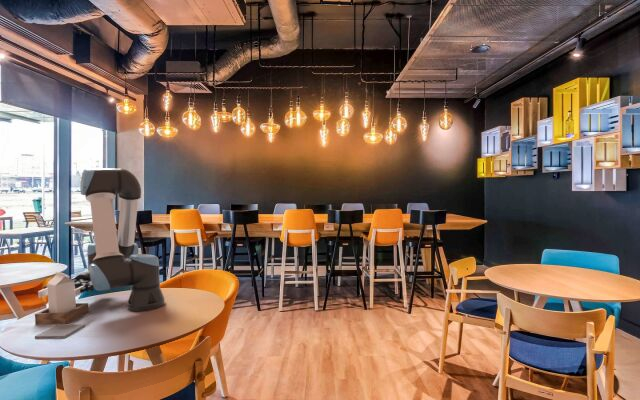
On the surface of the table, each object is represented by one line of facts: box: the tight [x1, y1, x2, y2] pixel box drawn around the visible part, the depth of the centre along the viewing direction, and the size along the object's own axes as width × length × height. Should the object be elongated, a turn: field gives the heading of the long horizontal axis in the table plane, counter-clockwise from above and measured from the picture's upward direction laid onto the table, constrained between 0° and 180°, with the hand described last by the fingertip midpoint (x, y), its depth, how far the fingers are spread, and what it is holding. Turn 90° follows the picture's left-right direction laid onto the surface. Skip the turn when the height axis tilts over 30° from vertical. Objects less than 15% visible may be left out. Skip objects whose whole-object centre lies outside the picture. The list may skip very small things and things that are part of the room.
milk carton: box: [46, 271, 76, 313], centre depth 153 cm, size 7×7×19 cm
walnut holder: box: [34, 302, 90, 325], centre depth 153 cm, size 13×13×4 cm
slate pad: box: [34, 323, 86, 339], centre depth 138 cm, size 11×11×1 cm
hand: (56, 294), depth 150 cm, fingers open, 13 cm apart
